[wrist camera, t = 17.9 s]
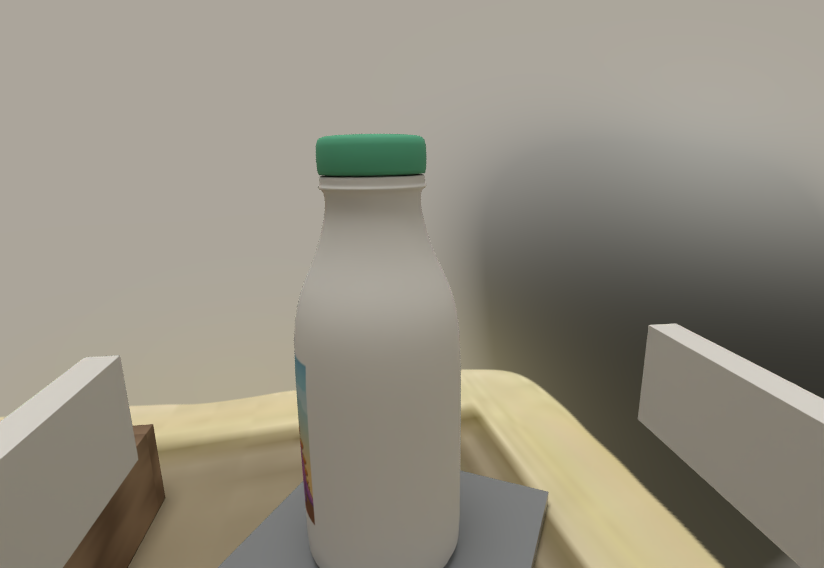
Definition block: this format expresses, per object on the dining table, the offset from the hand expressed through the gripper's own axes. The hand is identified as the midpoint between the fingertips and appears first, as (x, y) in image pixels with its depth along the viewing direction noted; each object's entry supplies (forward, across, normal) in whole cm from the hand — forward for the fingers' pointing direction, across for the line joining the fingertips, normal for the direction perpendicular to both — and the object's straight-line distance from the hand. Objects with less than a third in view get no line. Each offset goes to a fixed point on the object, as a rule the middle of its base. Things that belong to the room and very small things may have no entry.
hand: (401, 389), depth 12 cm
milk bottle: (+10, 0, -14) cm, 17 cm away
